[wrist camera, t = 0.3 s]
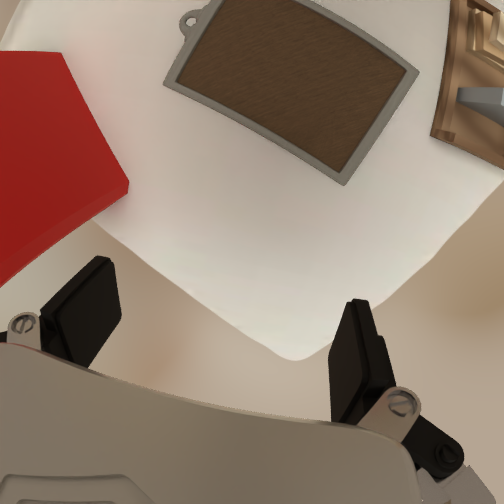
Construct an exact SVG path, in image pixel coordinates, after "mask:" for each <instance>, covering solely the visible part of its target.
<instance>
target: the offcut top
mask: <svg viewBox="0 0 504 504" xmlns="http://www.w3.org/2000/svg"><path fill="white" fill-rule="evenodd" d="M489 42H490V43H492V44H493V45H494V46H495V47H497V48H498V49H499V50H501V51H502V52H503V53H504V13H503V12H502V11H499V12H496V13H493V18H492V25H491V31H490V37H489Z"/></svg>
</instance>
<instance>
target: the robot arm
mask: <svg viewBox="0 0 504 504" xmlns="http://www.w3.org/2000/svg"><path fill="white" fill-rule="evenodd" d="M40 312H41V315H40V316H39V317H38V316H37V315H36V314H35V313H31V312H24V313H20V314H18V315H16V316H15V317H14V318H12V319H11V321H10V322H9V324H8V331H5V332H1V333H0V504H496V501H495V499H494V496H493V495H492V494H491V493H490V491H489V490H488V489H487V487H486V486H485V485H484V483H483V482H482V481H481V480H480V478H479V477H478V476H477V474H476V473H475V472H474V470H473V469H472V468H471V467H470V465H469V466H468V467H466V466H465V465H464V464H463V461H464V452H463V449H462V447H461V446H460V444H459V443H458V442H457V441H455V440H454V439H453V438H451V437H450V436H448V435H447V434H446V433H444V432H443V431H442V430H440V429H439V428H437V427H436V426H435V425H433V424H432V423H431V422H429V421H428V420H426V419H425V418H424V417H422V416H421V415H420V412H421V402H420V400H419V398H418V397H417V395H416V394H415V393H414V392H412V391H411V390H409V389H407V388H404V387H397V386H396V382H395V378H394V374H393V370H392V366H391V363H390V359H389V355H388V351H387V348H386V344H385V340H384V338H383V336H379V335H378V334H377V331H376V326H375V323H374V319H373V316H372V313H371V309H370V306H369V302H368V301H367V300H361V299H353V300H352V301H351V302H347V303H346V306H345V309H344V312H343V315H342V318H341V321H340V324H339V326H338V329H337V332H336V335H335V338H334V340H333V343H332V346H331V349H330V351H329V355H328V366H329V383H330V401H331V422H328V421H320V420H310V419H302V418H294V417H285V416H279V415H272V414H265V413H258V412H252V411H246V410H240V409H235V408H230V407H224V406H219V405H214V404H210V403H205V402H200V401H196V400H192V399H188V398H183V397H179V396H175V395H171V394H167V393H164V392H160V391H156V390H153V389H149V388H146V387H142V386H139V385H136V384H133V383H129V382H126V381H123V380H119V379H117V378H114V377H111V376H107V375H105V374H102V373H99V372H96V371H93V370H90V369H88V367H89V366H90V364H91V363H92V361H93V359H94V358H95V357H96V355H97V353H98V352H99V351H100V349H101V348H102V346H103V345H104V343H105V342H106V340H107V339H108V337H109V336H110V334H111V333H112V332H113V330H114V329H115V327H116V326H117V325H118V323H119V321H120V319H121V316H122V313H121V307H120V301H119V295H118V288H117V282H116V275H115V267H114V263H113V262H111V260H110V258H108V257H103V256H95V257H94V258H93V259H92V260H91V261H90V262H89V263H88V264H87V265H86V266H84V267H83V268H82V269H81V270H80V271H79V272H78V273H77V274H76V275H75V276H74V277H73V278H72V279H71V280H70V281H68V282H67V283H66V285H64V286H63V287H62V288H61V289H60V290H59V291H58V292H57V293H56V294H55V295H54V296H53V297H52V298H51V299H50V300H49V301H48V302H47V303H46V304H45V305H44V306H43V307H42V308H41V309H40ZM422 500H423V501H422Z"/></svg>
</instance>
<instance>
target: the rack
mask: <svg viewBox="0 0 504 504" xmlns="http://www.w3.org/2000/svg"><path fill="white" fill-rule="evenodd" d="M475 8H476V9H478V10H480V11H481V12H482V11H484V12H486V13H488V14H490V15H491V16H493V13H496V12H499V11H500V10H499V9H497V8H496V7H494V6H492V5H491V4H489V3H488V2H486V1H485V0H451V2H450V17H449V28H448V38H447V46H446V54H445V61H444V68H443V74H442V80H441V86H440V91H439V96H438V102H437V106H436V111H435V116H434V120H433V125H432V129H431V133H430V136H432V137H434V138H437V139H439V140H442V141H444V142H446V143H449V144H451V145H453V146H456V147H458V148H460V149H462V150H465V151H467V152H469V153H471V154H473V155H475V156H477V157H479V158H481V159H483V160H486V161H488V162H489V163H491V164H493V165H495V166H497V167H499V168H501V169H503V170H504V127H502V126H501V125H499V124H497V123H496V122H494V121H492V120H490V119H489V118H487V117H485V116H483V115H481V114H480V113H478V112H476V111H474V110H472V109H470V108H468V107H466V106H464V105H462V104H460V103H458V102H456V96H457V91H458V88H460V87H498V88H504V74H503V73H501V72H500V71H498V70H497V69H495V68H494V67H492V66H490V65H489V64H487V63H485V62H484V61H482V60H480V59H479V58H477V57H475V56H473V55H471V54H470V53H468V52H466V51H465V50H466V41H467V29H468V13H469V11H471V10H473V9H475Z"/></svg>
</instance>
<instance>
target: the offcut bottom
mask: <svg viewBox="0 0 504 504" xmlns="http://www.w3.org/2000/svg"><path fill="white" fill-rule="evenodd" d="M479 12H481V11H480V10H478V9H476V8H475V9H473V10H471V11H469V13H468V29H467V41H466V50H465V51H466V52H468V53H470V54H471V55H473V56H475V57H477V58H479V59H480V60H482V61H484V62H485V63H487V64H489V65H490V66H492V67H494V68H495V69H497V70H498V71H500V72H501V73H503V74H504V66H502V65H501V64H499V63H497V62H495V61H493V60H492V59H490V58H488V57H486V56H484V55H482V54H480V53H478V52H476V51H475V14H476V13H479Z"/></svg>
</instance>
